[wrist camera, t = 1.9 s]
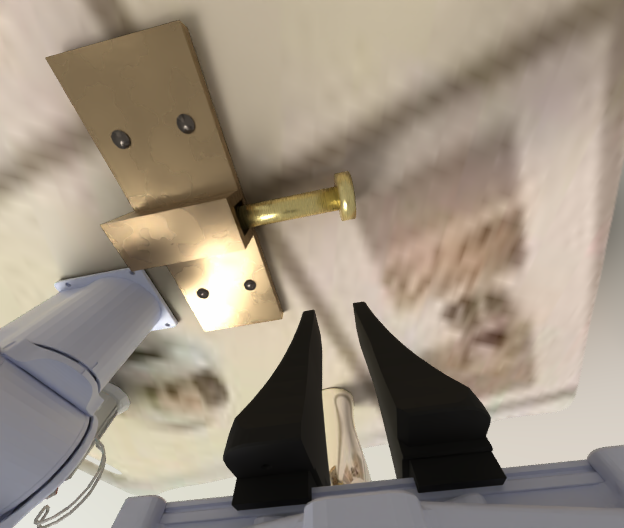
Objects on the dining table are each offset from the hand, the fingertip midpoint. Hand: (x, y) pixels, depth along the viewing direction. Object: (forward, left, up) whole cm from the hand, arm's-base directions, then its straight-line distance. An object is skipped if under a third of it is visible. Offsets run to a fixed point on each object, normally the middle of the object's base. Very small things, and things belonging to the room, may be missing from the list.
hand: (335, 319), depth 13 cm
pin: (-2, +5, -10) cm, 11 cm away
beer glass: (-3, -25, -10) cm, 27 cm away
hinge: (-10, +5, -10) cm, 15 cm away
